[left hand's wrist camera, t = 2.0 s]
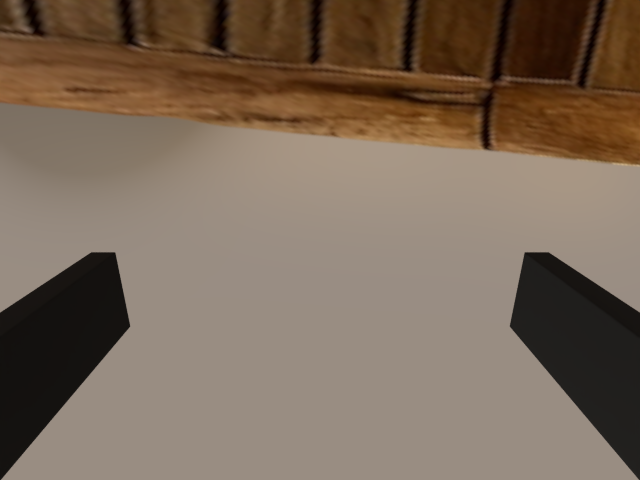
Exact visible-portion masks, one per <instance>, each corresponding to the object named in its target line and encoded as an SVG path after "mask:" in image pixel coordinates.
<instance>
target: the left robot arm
mask: <svg viewBox="0 0 640 480" xmlns="http://www.w3.org/2000/svg"><path fill="white" fill-rule="evenodd" d="M129 327H130V323H129V318H128V313H127V308H126V303H125V298H124V293H123V288H122V283H121V278H120V274H119V269H118V264H117V259H116V254H115V253H114V252H92V253H90V254H88V255H87V256H85V257H84V258H82V259H81V260H79V261H78V262H76V263H75V264H73V265H72V266H70V267H69V268H67V269H66V270H64V271H63V272H61V273H59V274H58V275H57V276H55V277H53V278H52V279H50V280H49V281H47V282H46V283H44V284H43V285H41V286H40V287H38V288H37V289H35V290H34V291H32V292H31V293H29V294H28V295H26V296H25V297H23V298H22V299H20V300H19V301H17V302H16V303H14V304H13V305H11V306H10V307H8V308H7V309H5V310H3V311H2V312H1V313H0V480H1V479H2V478H3V477H4V475H5V474H6V473H7V472H8V471H9V469H10V468H11V467H12V466H13V465H14V463H15V462H16V461H17V460H18V459H19V458H20V456H21V455H22V454H23V453H24V452H25V450H26V449H27V448H28V447H29V446H30V445H31V443H32V442H33V441H34V440H35V439H36V437H37V436H38V435H39V434H40V433H41V432H42V430H43V429H44V428H45V427H46V426H47V424H48V423H49V422H50V421H51V420H52V418H53V417H54V416H55V415H56V414H57V413H58V411H59V410H60V409H61V408H62V407H63V405H64V404H65V403H66V402H67V401H68V400H69V398H70V397H71V396H72V395H73V394H74V392H75V391H76V390H77V389H78V388H79V386H80V385H81V384H82V383H83V382H84V381H85V379H86V378H87V377H88V376H89V375H90V373H91V372H92V371H93V370H94V369H95V367H96V366H97V365H98V364H99V363H100V362H101V360H102V359H103V358H104V357H105V356H106V354H107V353H108V352H109V351H110V350H111V349H112V347H113V346H114V345H115V344H116V343H117V341H118V340H119V339H120V338H121V337H122V336H123V334H124V333H125V332H126V331H127V330H128V328H129ZM510 327H511V328H512V329H513V331H514V332H515V333H516V334H517V336H518V337H519V338H520V339H521V340H522V341H523V343H524V344H525V345H526V346H527V347H528V348H529V350H530V351H531V352H532V353H533V354H534V356H535V357H536V358H537V359H538V360H539V362H540V363H541V364H542V365H543V366H544V368H545V369H546V370H547V371H548V372H549V373H550V375H551V376H552V377H553V378H554V379H555V381H556V382H557V383H558V384H559V385H560V386H561V388H562V389H563V390H564V391H565V392H566V394H567V395H568V396H569V397H570V398H571V400H572V401H573V402H574V403H575V404H576V405H577V407H578V408H579V409H580V410H581V411H582V413H583V414H584V415H585V416H586V417H587V418H588V420H589V421H590V422H591V423H592V424H593V426H594V427H595V428H596V429H597V430H598V432H599V433H600V434H601V435H602V436H603V437H604V439H605V440H606V441H607V442H608V443H609V445H610V446H611V447H612V448H613V449H614V450H615V452H616V453H617V454H618V455H619V456H620V458H621V459H622V460H623V461H624V462H625V464H626V465H627V466H628V467H629V468H630V469H631V471H632V472H633V473H634V474H635V475H636V477H637V478H638V479H639V480H640V312H638V311H637V310H635V309H633V308H632V307H630V306H629V305H627V304H626V303H624V302H623V301H621V300H620V299H618V298H617V297H615V296H614V295H612V294H611V293H609V292H608V291H606V290H605V289H603V288H602V287H600V286H599V285H597V284H596V283H594V282H593V281H591V280H590V279H588V278H587V277H585V276H583V275H582V274H581V273H579V272H577V271H576V270H574V269H573V268H571V267H570V266H568V265H567V264H565V263H564V262H562V261H561V260H559V259H558V258H556V257H555V256H553V255H552V254H550V253H548V252H525V254H524V259H523V264H522V269H521V274H520V278H519V283H518V288H517V293H516V298H515V303H514V308H513V313H512V318H511V323H510Z"/></svg>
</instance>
